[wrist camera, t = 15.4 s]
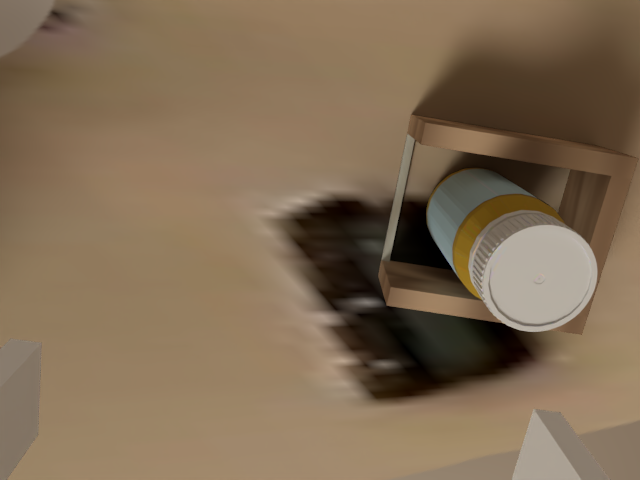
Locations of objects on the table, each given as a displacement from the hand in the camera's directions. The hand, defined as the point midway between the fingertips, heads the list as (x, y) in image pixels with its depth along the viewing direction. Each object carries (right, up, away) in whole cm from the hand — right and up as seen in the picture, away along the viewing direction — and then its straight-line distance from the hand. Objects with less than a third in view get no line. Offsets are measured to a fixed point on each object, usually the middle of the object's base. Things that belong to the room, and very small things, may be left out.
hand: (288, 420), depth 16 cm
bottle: (+12, +7, +30) cm, 33 cm away
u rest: (+14, +7, +30) cm, 34 cm away
